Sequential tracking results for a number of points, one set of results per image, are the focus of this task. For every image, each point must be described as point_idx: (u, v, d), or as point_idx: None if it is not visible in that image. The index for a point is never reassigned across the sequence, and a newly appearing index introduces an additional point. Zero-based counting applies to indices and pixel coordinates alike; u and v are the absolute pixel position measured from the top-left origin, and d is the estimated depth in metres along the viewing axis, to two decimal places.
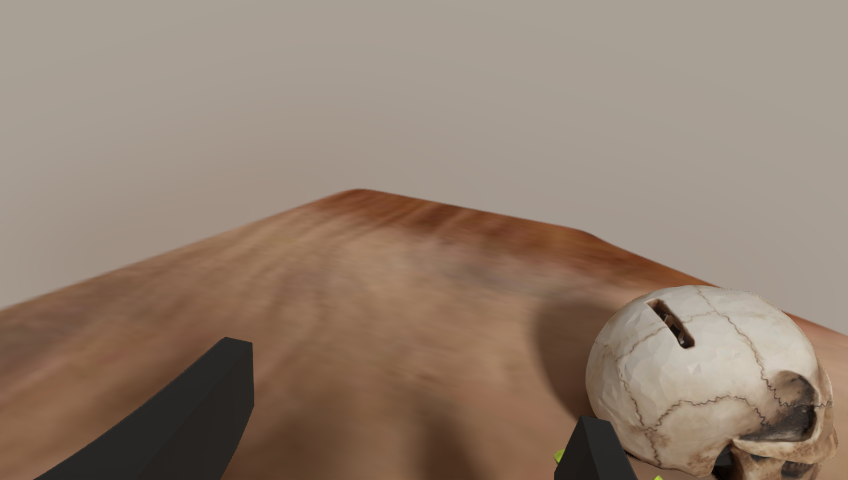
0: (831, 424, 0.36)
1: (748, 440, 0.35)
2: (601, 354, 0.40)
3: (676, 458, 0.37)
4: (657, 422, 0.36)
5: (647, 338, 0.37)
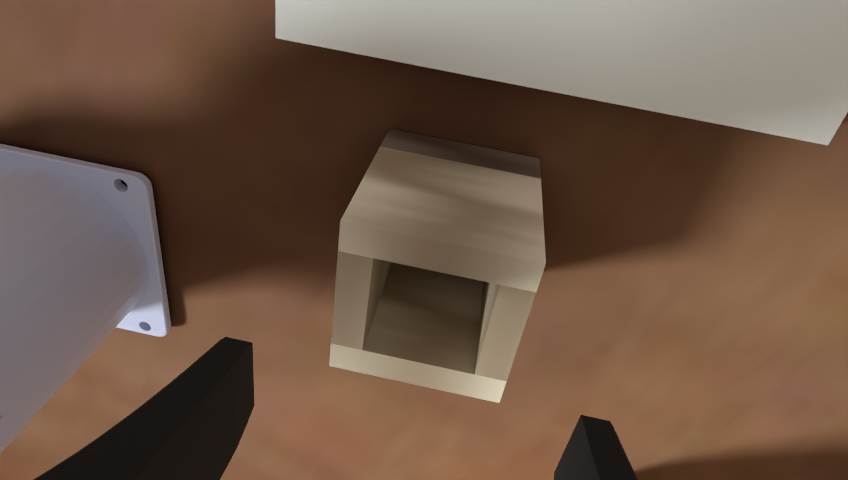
0: None
1: None
2: None
3: None
4: None
5: None
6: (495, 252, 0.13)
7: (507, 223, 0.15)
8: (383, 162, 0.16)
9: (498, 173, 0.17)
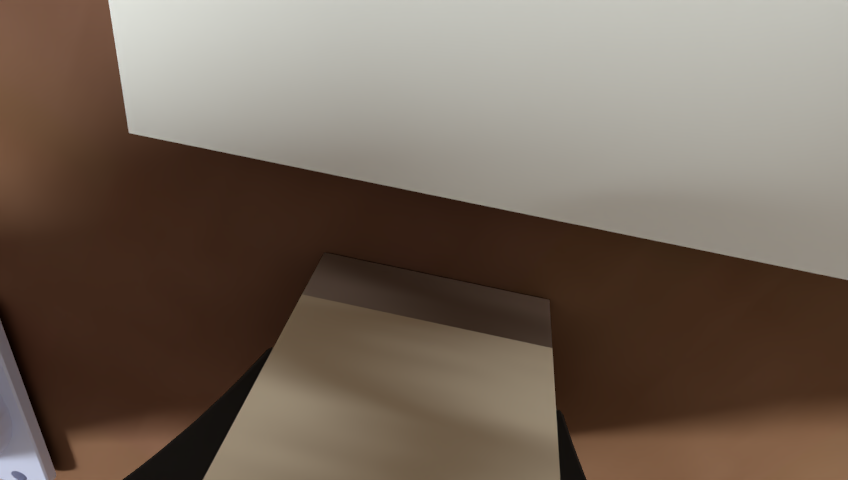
0: None
1: None
2: None
3: None
4: None
5: None
6: None
7: (497, 475, 0.08)
8: (300, 332, 0.10)
9: (485, 342, 0.11)
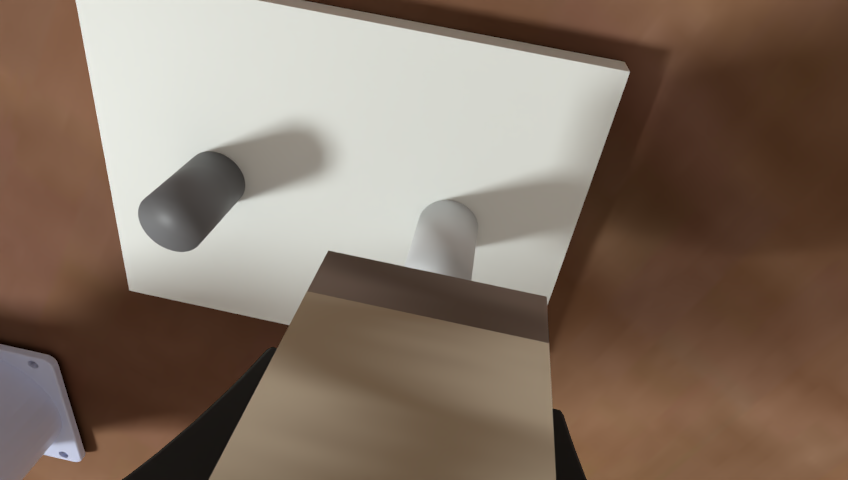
0: None
1: None
2: None
3: None
4: None
5: None
6: None
7: (495, 464, 0.09)
8: (306, 328, 0.11)
9: (484, 337, 0.11)
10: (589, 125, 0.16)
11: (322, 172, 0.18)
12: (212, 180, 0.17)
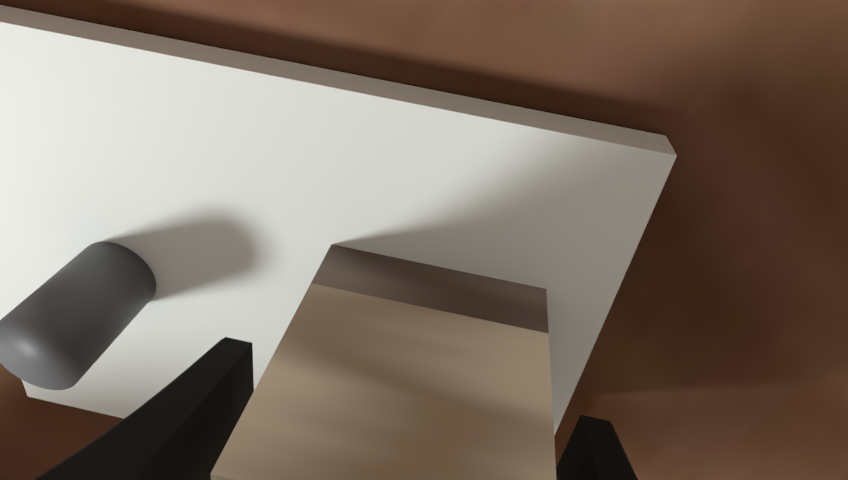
0: None
1: None
2: None
3: None
4: None
5: None
6: None
7: (496, 449, 0.09)
8: (310, 318, 0.11)
9: (485, 327, 0.11)
10: (616, 223, 0.12)
11: (254, 271, 0.14)
12: (100, 289, 0.13)
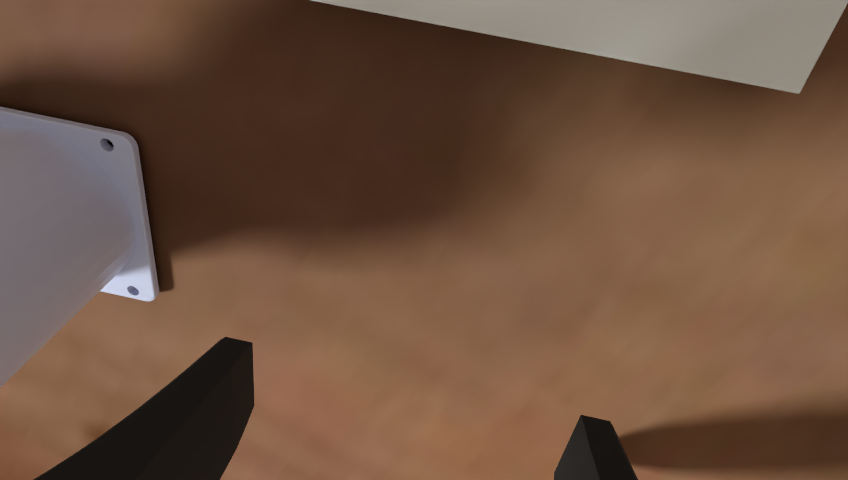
0: None
1: None
2: None
3: None
4: None
5: None
6: None
7: None
8: None
9: None
10: None
11: None
12: None
